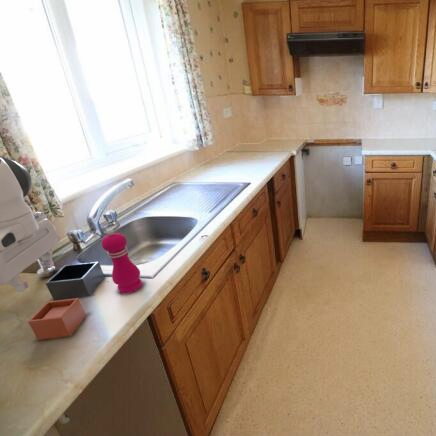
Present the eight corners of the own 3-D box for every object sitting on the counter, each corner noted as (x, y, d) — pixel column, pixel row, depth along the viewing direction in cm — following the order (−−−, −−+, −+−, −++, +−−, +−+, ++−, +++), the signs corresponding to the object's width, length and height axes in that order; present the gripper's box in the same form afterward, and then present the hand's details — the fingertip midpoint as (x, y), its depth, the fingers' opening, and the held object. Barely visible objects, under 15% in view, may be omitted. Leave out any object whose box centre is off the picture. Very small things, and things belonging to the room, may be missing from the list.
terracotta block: (48, 332, 82) (41, 319, 80) (59, 320, 86) (52, 307, 84) (67, 330, 83) (60, 317, 81) (76, 318, 87) (70, 305, 85)
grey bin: (53, 299, 95) (45, 283, 93) (72, 280, 104) (64, 265, 101) (89, 295, 96) (82, 279, 94) (105, 277, 105) (98, 261, 102)
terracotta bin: (37, 340, 81) (27, 321, 78) (56, 319, 87) (47, 301, 85) (70, 336, 81) (61, 317, 79) (86, 315, 88) (78, 297, 86)
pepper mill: (136, 277, 104) (117, 222, 95) (148, 285, 100) (129, 227, 91) (113, 289, 98) (89, 231, 90) (124, 297, 95) (101, 238, 86)
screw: (40, 274, 108) (58, 269, 110) (38, 281, 104) (57, 275, 107) (23, 240, 102) (42, 235, 105) (20, 246, 99) (40, 241, 101)
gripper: (28, 210, 82) (49, 256, 87) (-45, 251, 63) (-11, 306, 69) (55, 208, 82) (74, 254, 88) (-9, 248, 64) (21, 303, 70)
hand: (36, 277), depth 78 cm, fingers open, 8 cm apart
